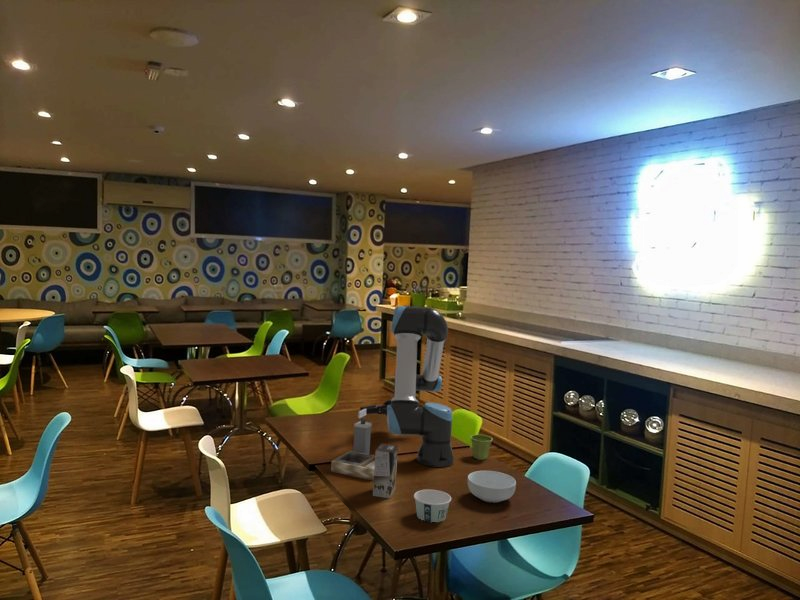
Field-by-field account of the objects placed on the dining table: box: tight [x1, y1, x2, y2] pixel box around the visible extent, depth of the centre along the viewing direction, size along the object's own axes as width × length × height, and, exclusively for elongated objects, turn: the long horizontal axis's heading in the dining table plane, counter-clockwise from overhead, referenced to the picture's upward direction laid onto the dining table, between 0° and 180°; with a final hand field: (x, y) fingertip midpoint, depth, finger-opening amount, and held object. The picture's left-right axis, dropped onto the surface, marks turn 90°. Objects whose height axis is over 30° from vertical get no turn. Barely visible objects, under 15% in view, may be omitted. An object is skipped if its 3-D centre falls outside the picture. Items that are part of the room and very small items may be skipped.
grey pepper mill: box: [352, 417, 373, 455], centre depth 244 cm, size 5×5×16 cm
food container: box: [413, 489, 452, 523], centre depth 190 cm, size 12×12×6 cm
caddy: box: [330, 450, 375, 482], centre depth 229 cm, size 18×15×4 cm
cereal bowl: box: [467, 470, 517, 504], centre depth 208 cm, size 17×17×7 cm
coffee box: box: [372, 443, 399, 499], centre depth 207 cm, size 9×6×16 cm
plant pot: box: [469, 434, 494, 461], centre depth 252 cm, size 9×9×9 cm
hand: (373, 417), depth 253 cm, fingers open, 13 cm apart
